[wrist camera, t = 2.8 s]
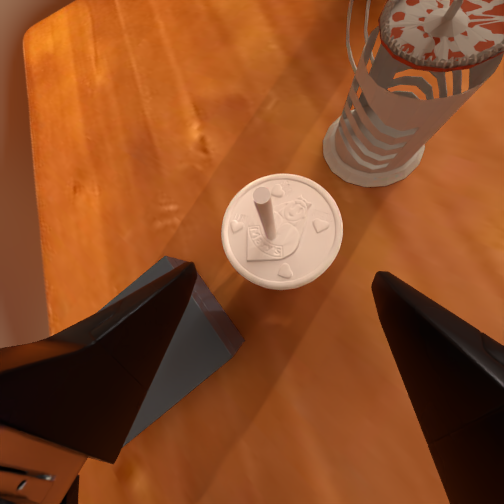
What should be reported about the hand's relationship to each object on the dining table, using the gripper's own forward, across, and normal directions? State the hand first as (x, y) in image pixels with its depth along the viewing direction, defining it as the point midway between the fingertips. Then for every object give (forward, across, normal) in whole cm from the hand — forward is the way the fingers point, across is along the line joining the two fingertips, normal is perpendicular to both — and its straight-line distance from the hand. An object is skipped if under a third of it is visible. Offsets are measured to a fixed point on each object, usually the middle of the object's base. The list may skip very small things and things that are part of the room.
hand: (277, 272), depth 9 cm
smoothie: (+8, 0, +5) cm, 10 cm away
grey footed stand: (+2, +11, +11) cm, 16 cm away
